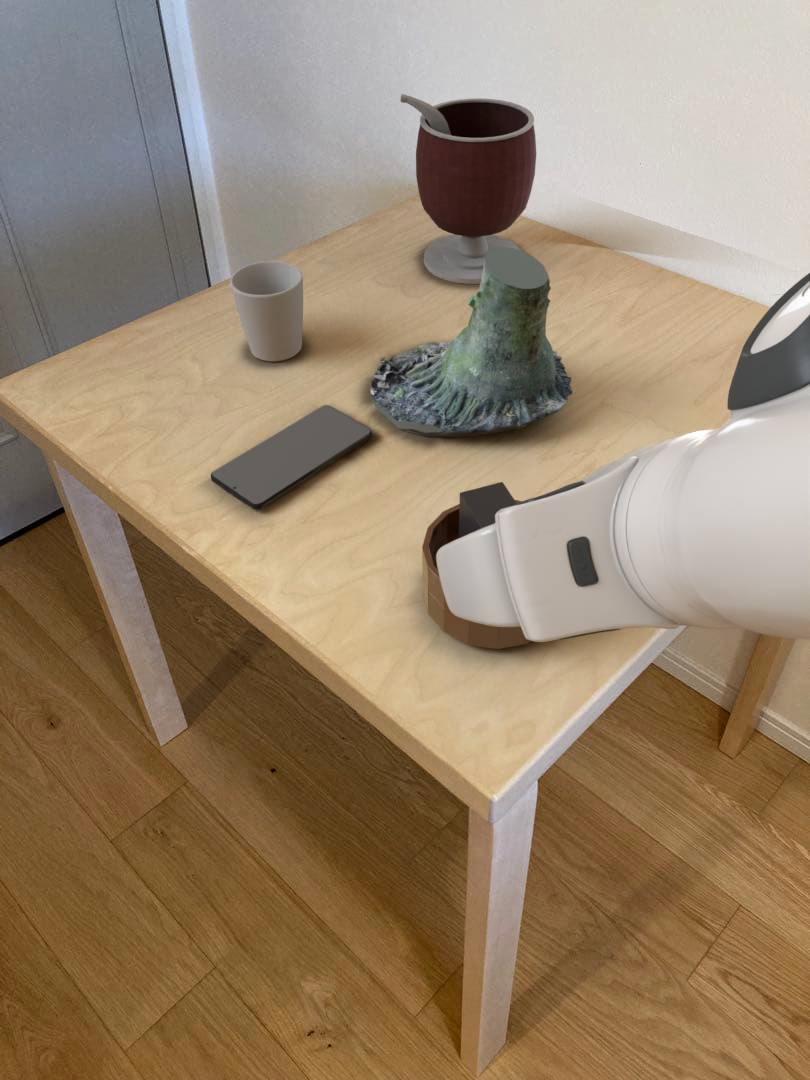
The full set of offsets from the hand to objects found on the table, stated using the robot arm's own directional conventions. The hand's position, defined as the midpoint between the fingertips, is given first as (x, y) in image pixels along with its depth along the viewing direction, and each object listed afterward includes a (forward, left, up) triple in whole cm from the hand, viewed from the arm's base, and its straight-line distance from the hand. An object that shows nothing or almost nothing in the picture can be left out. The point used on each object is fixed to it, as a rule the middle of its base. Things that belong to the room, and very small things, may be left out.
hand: (570, 541), depth 56 cm
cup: (+16, -51, -15) cm, 55 cm away
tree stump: (-3, -37, -15) cm, 40 cm away
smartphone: (+16, -30, -14) cm, 37 cm away
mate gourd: (-9, -65, -15) cm, 67 cm away
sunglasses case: (+2, -9, -14) cm, 16 cm away
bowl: (+2, -9, -14) cm, 17 cm away
